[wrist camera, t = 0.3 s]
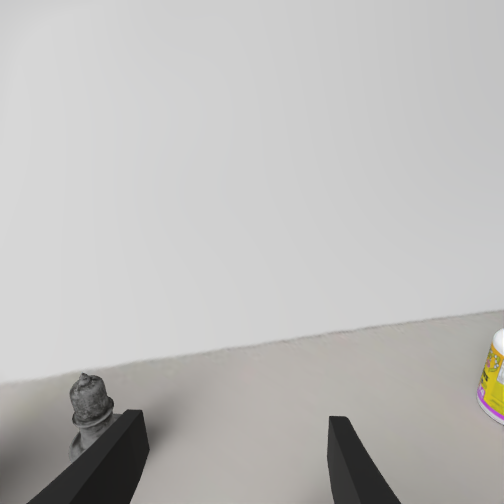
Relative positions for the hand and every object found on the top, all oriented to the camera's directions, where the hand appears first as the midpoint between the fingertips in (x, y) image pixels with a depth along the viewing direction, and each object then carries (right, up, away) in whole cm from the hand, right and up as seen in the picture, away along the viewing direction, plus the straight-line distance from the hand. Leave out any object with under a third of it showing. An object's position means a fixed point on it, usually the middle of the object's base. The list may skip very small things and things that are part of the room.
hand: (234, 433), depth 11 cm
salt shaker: (-15, -16, +20) cm, 29 cm away
